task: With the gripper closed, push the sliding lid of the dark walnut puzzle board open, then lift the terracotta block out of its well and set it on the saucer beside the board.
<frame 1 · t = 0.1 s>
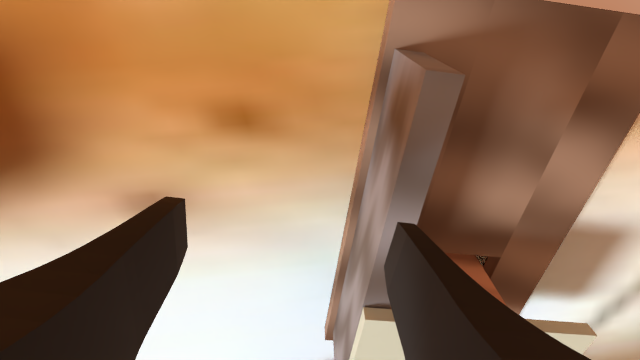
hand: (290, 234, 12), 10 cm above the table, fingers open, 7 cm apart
puzzle board: (438, 275, 26), on the table
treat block: (437, 274, 26), resting in puzzle board
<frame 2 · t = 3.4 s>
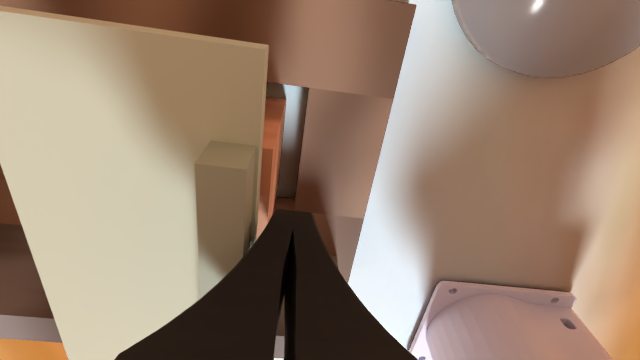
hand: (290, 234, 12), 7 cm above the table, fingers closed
sliding lid: (138, 254, 10), point 8 cm above the table, slide at 1.5 cm, touching gripper
puzzle board: (237, 137, 17), on the table
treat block: (237, 136, 17), resting in puzzle board
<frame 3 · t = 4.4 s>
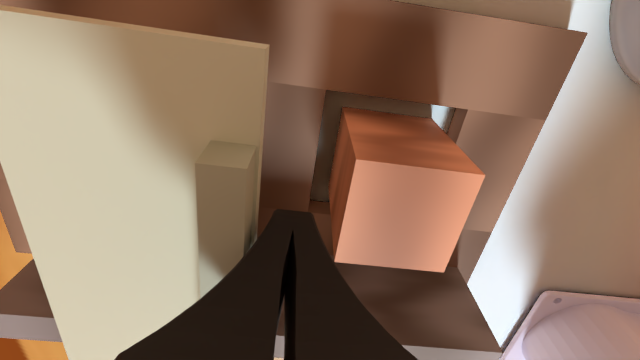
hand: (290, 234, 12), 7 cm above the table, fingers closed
sliding lid: (138, 253, 10), point 8 cm above the table, slide at 8.8 cm, touching gripper
puzzle board: (377, 154, 18), on the table
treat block: (377, 154, 18), resting in puzzle board
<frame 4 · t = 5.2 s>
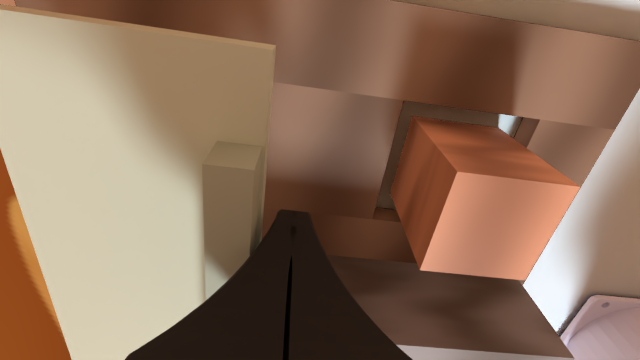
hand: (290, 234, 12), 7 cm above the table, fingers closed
sliding lid: (143, 254, 10), point 8 cm above the table, slide at 12.1 cm, touching gripper
puzzle board: (441, 162, 18), on the table
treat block: (441, 161, 18), resting in puzzle board
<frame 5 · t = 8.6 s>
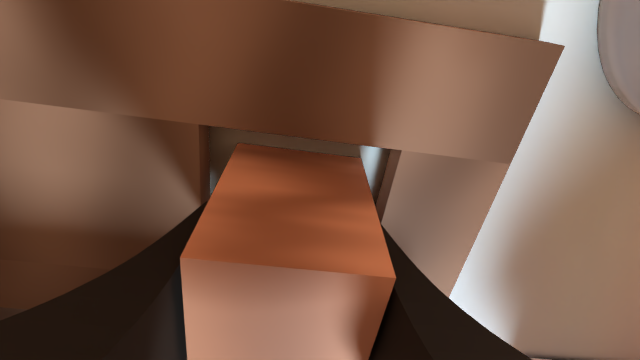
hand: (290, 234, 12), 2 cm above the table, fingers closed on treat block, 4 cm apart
puzzle board: (293, 202, 13), on the table
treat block: (293, 202, 13), resting in puzzle board, touching gripper
when the fingers open (5 cm above the table, at t = 12.3 s): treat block drops 1 cm, resting on saucer.
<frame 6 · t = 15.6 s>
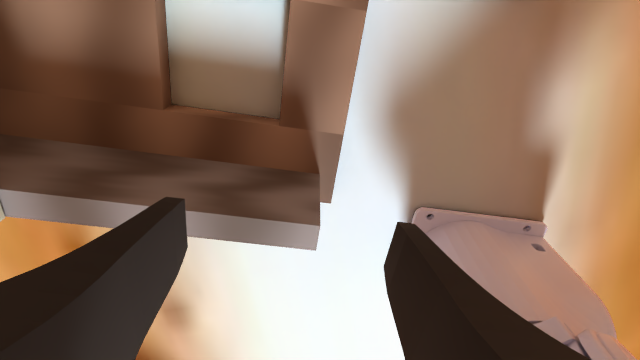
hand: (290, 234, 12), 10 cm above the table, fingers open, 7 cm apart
puzzle board: (227, 55, 19), on the table
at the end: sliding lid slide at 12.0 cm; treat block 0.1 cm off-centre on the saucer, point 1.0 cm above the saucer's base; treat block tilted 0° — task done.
